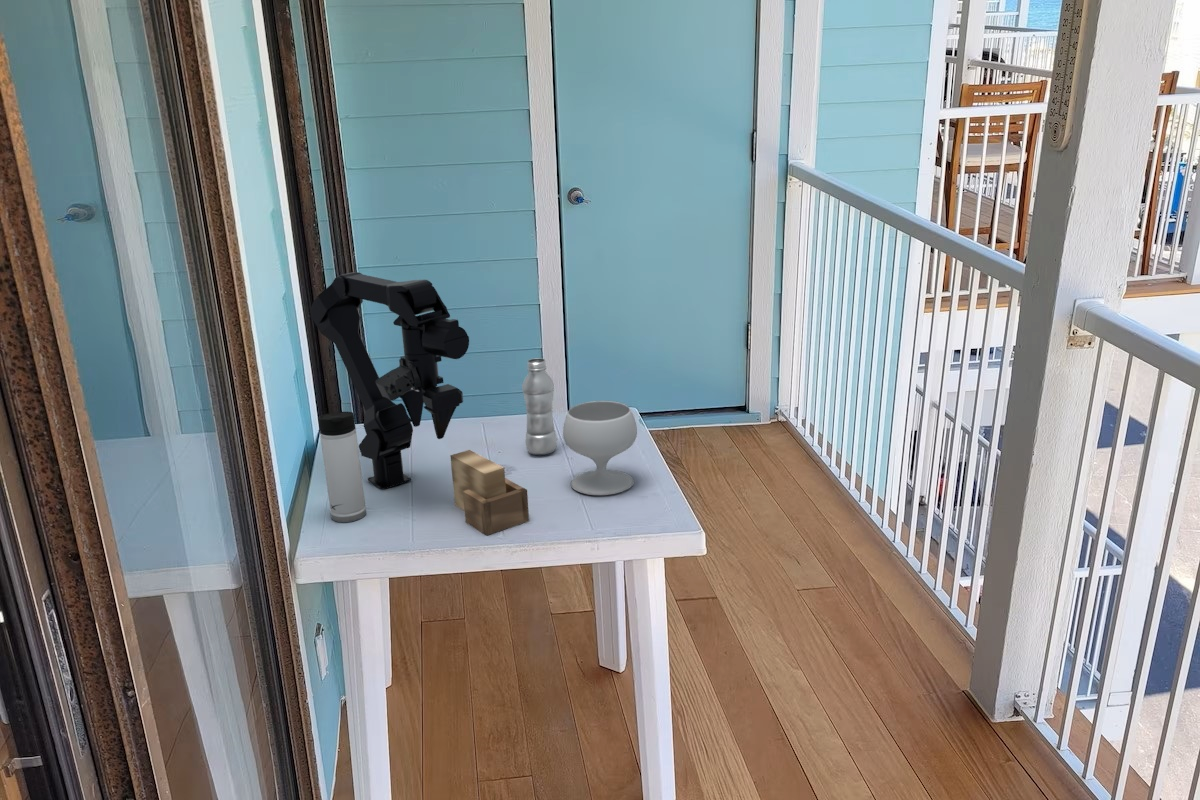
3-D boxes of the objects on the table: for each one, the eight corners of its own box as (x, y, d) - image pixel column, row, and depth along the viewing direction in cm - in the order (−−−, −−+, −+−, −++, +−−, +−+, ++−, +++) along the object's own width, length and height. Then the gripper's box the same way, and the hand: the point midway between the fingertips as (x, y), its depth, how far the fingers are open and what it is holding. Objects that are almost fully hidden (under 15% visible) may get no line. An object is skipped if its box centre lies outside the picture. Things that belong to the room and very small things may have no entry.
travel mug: (332, 526, 179) (317, 420, 173) (330, 511, 185) (316, 409, 179) (367, 520, 180) (354, 415, 174) (365, 506, 186) (352, 404, 180)
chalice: (653, 485, 190) (651, 410, 186) (595, 505, 182) (591, 428, 178) (608, 465, 201) (605, 394, 196) (551, 483, 193) (547, 410, 188)
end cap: (465, 522, 178) (462, 491, 176) (507, 508, 183) (505, 478, 181) (486, 535, 172) (484, 503, 171) (529, 520, 177) (527, 489, 176)
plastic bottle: (519, 453, 209) (513, 361, 203) (545, 444, 213) (539, 354, 207) (538, 460, 205) (532, 367, 198) (564, 452, 209) (559, 360, 203)
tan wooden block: (455, 505, 185) (450, 455, 182) (473, 499, 188) (469, 449, 184) (489, 526, 176) (484, 473, 173) (508, 519, 178) (504, 467, 175)
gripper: (356, 349, 183) (366, 430, 188) (403, 370, 169) (412, 456, 174) (411, 338, 189) (419, 416, 194) (460, 357, 175) (468, 441, 180)
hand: (428, 432), depth 185 cm, fingers open, 9 cm apart
